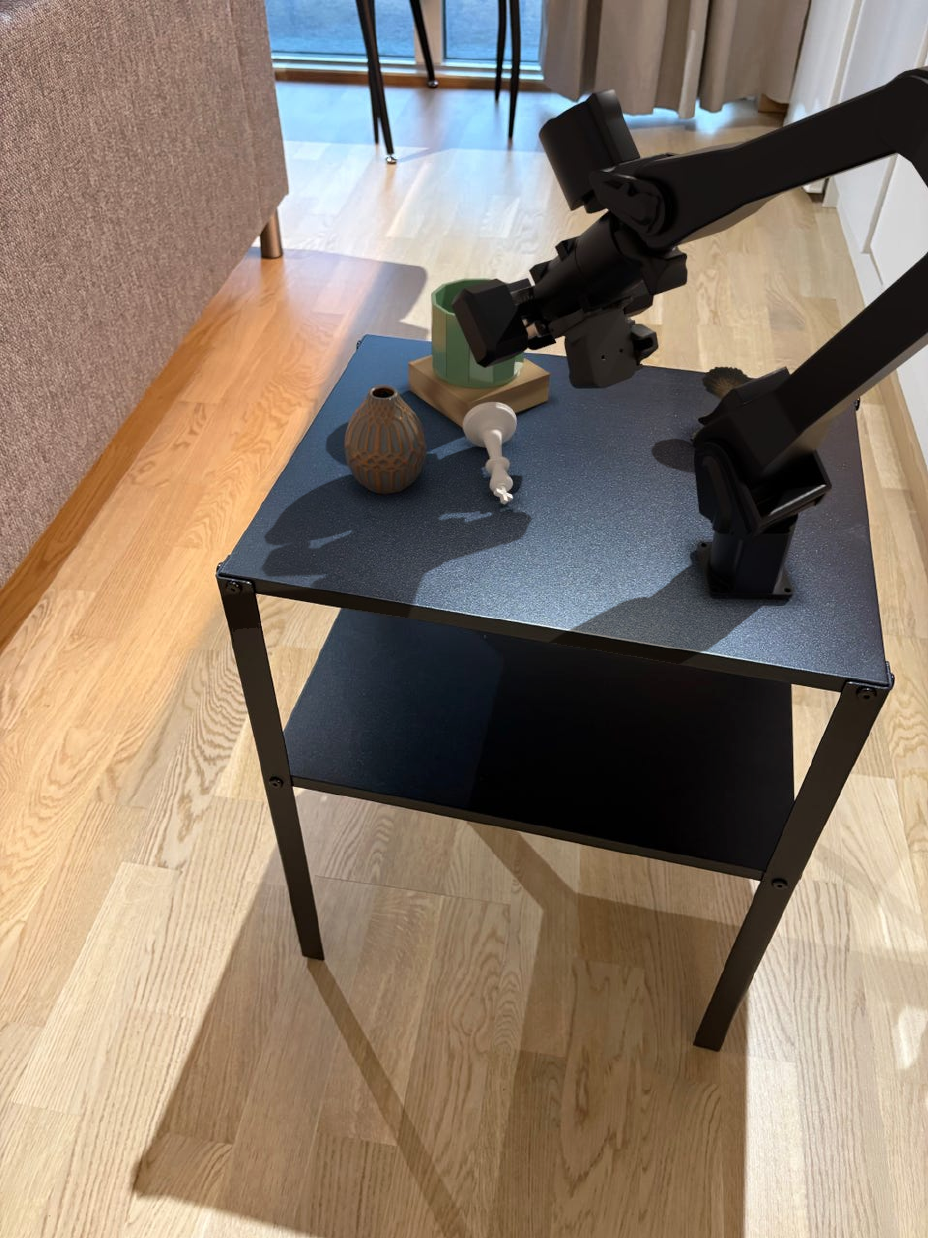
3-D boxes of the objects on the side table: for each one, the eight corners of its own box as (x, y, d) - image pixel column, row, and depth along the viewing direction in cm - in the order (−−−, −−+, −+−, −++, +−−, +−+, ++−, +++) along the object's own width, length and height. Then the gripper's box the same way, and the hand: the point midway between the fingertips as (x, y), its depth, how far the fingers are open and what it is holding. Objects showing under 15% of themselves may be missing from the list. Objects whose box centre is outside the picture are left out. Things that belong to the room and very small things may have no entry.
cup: (526, 387, 95) (531, 317, 90) (434, 389, 94) (433, 319, 90) (516, 344, 101) (520, 277, 97) (430, 346, 101) (429, 278, 96)
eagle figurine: (781, 403, 97) (692, 384, 96) (816, 367, 90) (721, 346, 89) (775, 475, 95) (685, 456, 94) (811, 444, 88) (713, 423, 87)
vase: (430, 462, 91) (429, 374, 85) (420, 506, 85) (419, 415, 80) (355, 457, 91) (349, 369, 85) (340, 500, 86) (333, 410, 80)
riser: (548, 400, 99) (550, 373, 97) (467, 431, 95) (468, 403, 93) (487, 362, 105) (488, 335, 103) (408, 389, 100) (407, 362, 98)
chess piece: (483, 393, 88) (498, 473, 82) (527, 414, 91) (545, 493, 85) (451, 430, 91) (464, 510, 85) (494, 450, 94) (509, 528, 88)
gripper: (557, 391, 74) (464, 452, 88) (728, 327, 83) (619, 391, 97) (495, 251, 74) (412, 334, 87) (674, 200, 82) (573, 284, 96)
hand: (510, 339), depth 92 cm, fingers closed
